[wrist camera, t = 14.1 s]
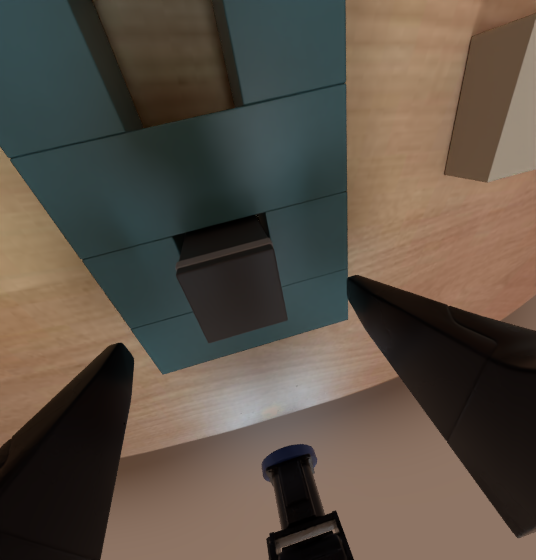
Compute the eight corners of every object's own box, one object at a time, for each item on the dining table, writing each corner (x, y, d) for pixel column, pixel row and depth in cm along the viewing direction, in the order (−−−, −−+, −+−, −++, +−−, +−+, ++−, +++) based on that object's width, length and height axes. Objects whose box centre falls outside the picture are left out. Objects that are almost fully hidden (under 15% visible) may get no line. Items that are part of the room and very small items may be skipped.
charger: (262, 258, 18) (289, 321, 12) (208, 273, 17) (207, 345, 11) (250, 203, 15) (275, 246, 10) (187, 219, 15) (172, 274, 9)
